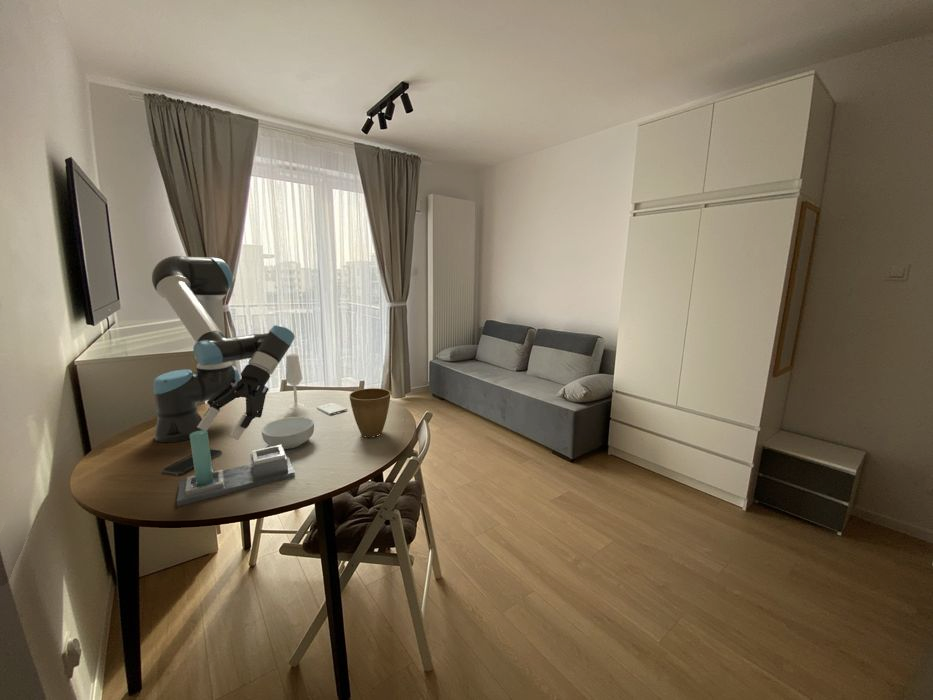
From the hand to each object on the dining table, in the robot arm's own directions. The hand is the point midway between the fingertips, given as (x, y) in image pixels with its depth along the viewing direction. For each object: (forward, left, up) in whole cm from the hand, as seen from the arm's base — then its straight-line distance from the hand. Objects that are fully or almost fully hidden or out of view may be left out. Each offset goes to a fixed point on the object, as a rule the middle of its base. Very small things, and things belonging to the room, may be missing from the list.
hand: (217, 433), depth 107 cm
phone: (-19, +4, -15) cm, 25 cm away
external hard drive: (-13, +60, -16) cm, 63 cm away
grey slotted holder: (+4, +2, -15) cm, 15 cm away
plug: (-1, -4, -13) cm, 14 cm away
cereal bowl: (-2, +26, -15) cm, 30 cm away
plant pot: (+19, +45, -15) cm, 51 cm away
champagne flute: (-30, +56, -15) cm, 65 cm away
